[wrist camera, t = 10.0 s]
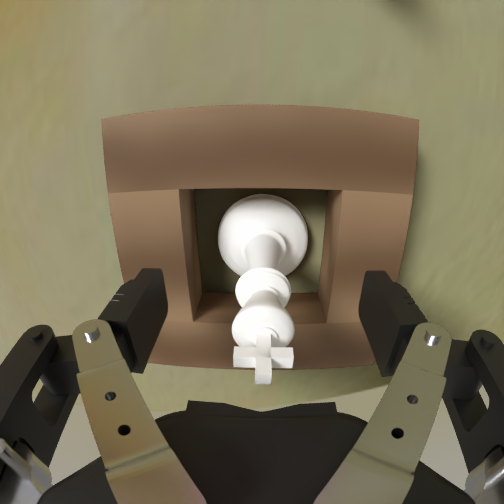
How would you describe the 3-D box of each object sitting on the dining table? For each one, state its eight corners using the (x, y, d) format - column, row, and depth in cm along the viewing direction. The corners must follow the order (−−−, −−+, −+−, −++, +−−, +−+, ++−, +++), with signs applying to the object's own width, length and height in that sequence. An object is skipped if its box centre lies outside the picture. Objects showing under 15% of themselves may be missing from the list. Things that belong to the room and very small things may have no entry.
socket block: (128, 117, 14) (101, 119, 11) (392, 118, 14) (419, 119, 11) (158, 332, 20) (145, 362, 17) (361, 334, 19) (372, 364, 17)
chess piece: (303, 277, 18) (334, 423, 9) (219, 275, 18) (185, 420, 9) (310, 195, 16) (373, 304, 6) (216, 193, 16) (157, 300, 7)
